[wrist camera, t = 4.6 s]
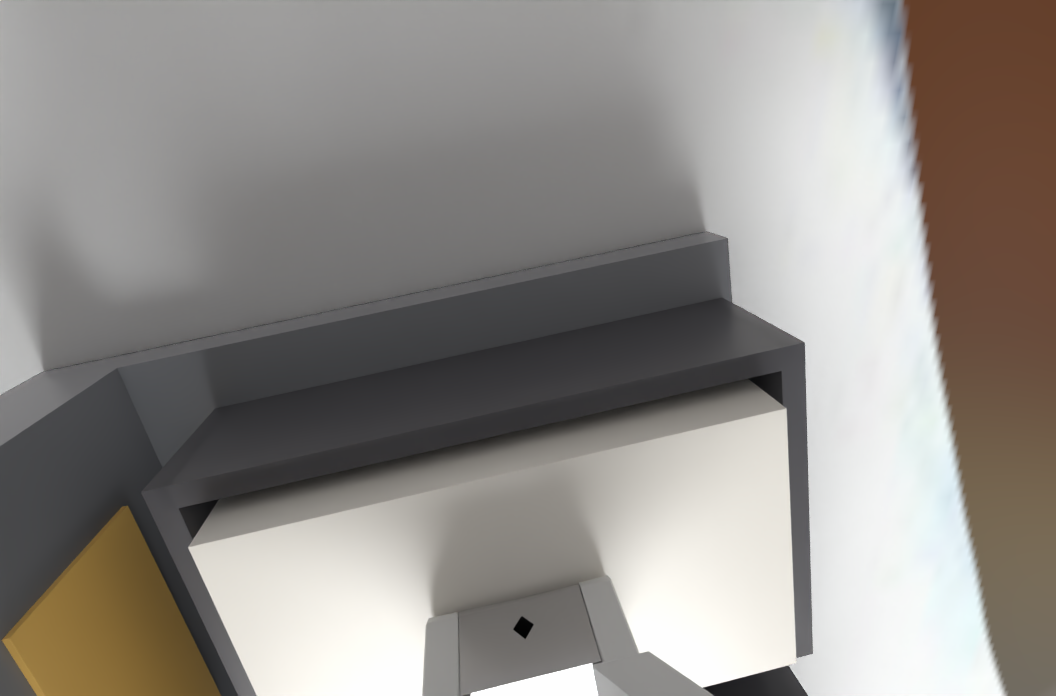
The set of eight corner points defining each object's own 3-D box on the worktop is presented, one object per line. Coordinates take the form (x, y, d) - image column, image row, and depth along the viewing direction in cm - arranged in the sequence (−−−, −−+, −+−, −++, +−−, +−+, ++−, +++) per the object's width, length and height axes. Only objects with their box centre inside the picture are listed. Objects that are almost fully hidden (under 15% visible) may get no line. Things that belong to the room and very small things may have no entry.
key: (235, 474, 10) (187, 547, 8) (728, 363, 11) (786, 408, 9) (324, 691, 12) (300, 792, 10) (744, 586, 13) (796, 663, 11)
